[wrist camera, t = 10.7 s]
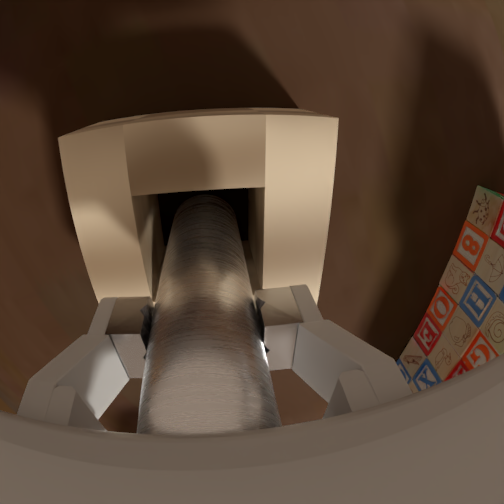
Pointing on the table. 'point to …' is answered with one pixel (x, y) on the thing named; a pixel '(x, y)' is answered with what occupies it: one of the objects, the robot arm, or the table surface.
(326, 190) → the light wooden square frame
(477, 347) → the stack of blocks
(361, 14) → the table surface
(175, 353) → the silver metal rod
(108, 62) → the table surface
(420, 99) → the table surface
